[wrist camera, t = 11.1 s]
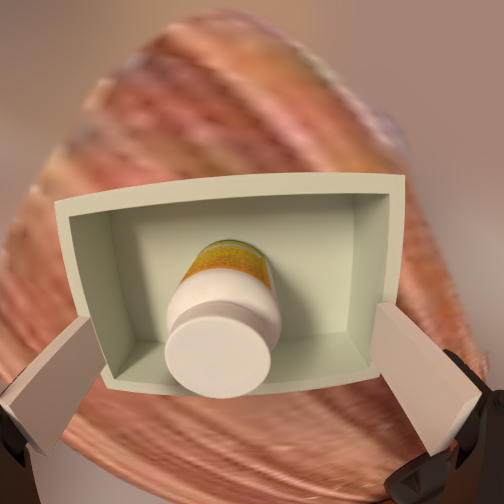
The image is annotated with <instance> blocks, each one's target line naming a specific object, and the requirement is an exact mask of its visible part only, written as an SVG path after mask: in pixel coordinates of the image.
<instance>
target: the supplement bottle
mask: <svg viewBox="0 0 504 504" xmlns="http://www.w3.org/2000/svg"><path fill="white" fill-rule="evenodd" d="M166 322H167V329H168V333H169V336H168V339H167V341H166V345H165V360H166V364H167V366H168V369H169V371H170V372H171V374H172V375H173V377H174V378H175V379H176V380H177V381H178V382H179V383H180V384H181V385H183V386H184V387H185V388H187V389H189V390H190V391H192V392H195V393H197V394H199V395H202V396H206V397H210V398H218V399H221V398H234V397H238V396H242V395H245V394H247V393H249V392H251V391H253V390H254V389H256V388H257V387H258V386H259V385H260V384H261V383H263V381H264V380H265V379H266V377H267V375H268V373H269V370H270V367H271V352H272V351H273V349H274V348H275V346H276V344H277V342H278V340H279V337H280V334H281V328H282V317H281V311H280V307H279V302H278V298H277V294H276V290H275V286H274V282H273V277H272V272H271V269H270V266H269V263H268V261H267V259H266V258H265V256H264V255H263V254H262V253H261V251H260V250H258V249H257V248H256V247H255V246H253V245H251V244H249V243H247V242H245V241H242V240H238V239H222V240H218V241H215V242H213V243H211V244H209V245H208V246H206V247H205V248H204V249H203V250H202V251H201V252H200V253H199V254H198V256H197V257H196V258H195V260H194V261H193V263H192V265H191V266H190V268H189V269H188V271H187V272H186V274H185V276H184V277H183V279H182V280H181V282H180V283H179V285H178V287H177V288H176V290H175V291H174V293H173V295H172V297H171V299H170V301H169V304H168V308H167V314H166Z"/></svg>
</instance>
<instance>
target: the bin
mask: <svg viewBox="0 0 504 504" xmlns="http://www.w3.org/2000/svg"><path fill="white" fill-rule="evenodd" d="M54 204H55V212H56V220H57V227H58V233H59V239H60V244H61V250H62V255H63V259H64V264H65V268H66V273H67V277H68V281H69V285H70V289H71V292H72V296H73V299H74V303H75V306H76V309H77V313H78V316H81V317H91V320H92V323H93V327H94V330H95V333H96V336H97V339H98V342H99V344H100V347H101V350H102V353H103V355H104V358H105V361H106V363H107V364H106V365H105V367H104V368H103V370H102V371H101V373H100V374H101V376H102V378H103V380H104V383H105V385H106V387H107V388H109V389H115V390H123V391H131V392H139V393H150V394H162V395H178V396H202V395H199V394H197V393H195V392H192V391H190V390H189V389H187V388H185V387H184V386H183V385H181V384H180V383H179V382H178V381H177V380H176V379H175V378H174V377H173V375H172V374H171V372H170V371H169V369H168V366H167V364H166V360H165V345H166V341H167V339H168V336H169V333H168V329H167V322H166V314H167V308H168V304H169V301H170V299H171V297H172V295H173V293H174V291H175V290H176V288H177V287H178V285H179V283H180V282H181V280H182V279H183V277H184V276H185V274H186V272H187V271H188V269H189V268H190V266H191V265H192V263H193V261H194V260H195V258H196V257H197V256H198V254H199V253H200V252H201V251H202V250H203V249H204V248H205V247H206V246H208V245H209V244H211V243H213V242H215V241H218V240H222V239H238V240H242V241H245V242H247V243H249V244H251V245H253V246H255V247H256V248H257V249H258V250H260V251H261V253H262V254H263V255H264V256H265V258H266V259H267V261H268V263H269V266H270V269H271V272H272V277H273V282H274V286H275V290H276V294H277V298H278V302H279V307H280V311H281V317H282V328H281V334H280V337H279V340H278V342H277V344H276V346H275V348H274V349H273V351H272V352H271V367H270V370H269V373H268V375H267V377H266V379H265V380H264V381H263V383H261V384H260V385H259V386H258V387H257V388H256V389H254V390H253V391H251V392H249V393H247V394H245V395H242V396H248V395H264V394H277V393H287V392H297V391H305V390H312V389H319V388H326V387H332V386H338V385H343V384H349V383H354V382H359V381H364V380H368V379H373V378H377V377H379V376H380V371H379V369H378V368H377V366H376V365H375V363H374V362H373V360H372V358H371V357H370V355H369V350H370V344H371V339H372V333H373V327H374V321H375V314H376V307H377V304H379V303H386V302H392V303H393V304H394V305H395V304H396V298H397V291H398V284H399V277H400V268H401V259H402V248H403V235H404V215H405V175H393V174H373V173H333V172H313V173H272V174H251V175H235V176H221V177H209V178H199V179H189V180H179V181H171V182H163V183H155V184H147V185H140V186H134V187H127V188H121V189H115V190H109V191H103V192H98V193H92V194H87V195H82V196H77V197H72V198H67V199H63V200H58V201H54Z"/></svg>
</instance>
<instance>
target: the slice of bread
mask: <svg viewBox="0 0 504 504" xmlns="http://www.w3.org/2000/svg"><path fill="white" fill-rule="evenodd" d="M375 504H398V503H397V502H395V501H394V500H393V499H392V498H390V499H388V500H384V501H381V502H378V503H375Z"/></svg>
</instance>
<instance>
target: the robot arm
mask: <svg viewBox="0 0 504 504" xmlns="http://www.w3.org/2000/svg"><path fill="white" fill-rule="evenodd" d="M369 355H370V357H371V358H372V360H373V362H374V363H375V365H376V366H377V368H378V369H379V371H380V373H381V374H382V376H383V377H384V379H385V381H386V382H387V384H388V385H389V387H390V389H391V390H392V392H393V393H394V395H395V397H396V398H397V400H398V402H399V403H400V405H401V407H402V408H403V410H404V412H405V413H406V415H407V417H408V418H409V420H410V422H411V423H412V425H413V427H414V429H415V430H416V432H417V434H418V435H419V437H420V439H421V441H422V442H423V444H424V446H425V448H426V450H427V451H428V452H427V453H425V454H423V455H422V456H420V457H418V458H416V459H415V460H413V461H411V462H410V463H408V464H407V465H405V466H403V467H402V468H401V469H399V470H398V471H396V472H395V473H394V474H392V475H391V476H390V477H389V478H388V479H387V480H386V481H385V483H384V487H385V490H386V492H387V494H388V495H389V496H390V497H391V498H392V499H393V500H394V501H395V502H397V503H398V504H504V390H495V391H491V390H490V388H489V387H488V386H487V385H486V384H485V383H484V382H483V381H482V380H481V379H480V378H479V377H478V376H477V375H476V374H475V373H474V372H473V371H472V370H470V368H469V367H468V366H467V365H466V364H464V362H463V361H462V360H461V359H460V358H459V357H458V356H457V355H456V354H454V353H453V352H451V351H449V350H447V349H444V350H441V349H440V348H439V347H438V346H437V345H436V344H435V343H434V342H433V341H432V340H431V339H430V338H429V337H428V336H427V335H426V334H425V333H424V332H423V331H422V330H421V329H420V328H419V327H418V326H417V325H416V324H415V323H413V322H412V321H411V320H410V319H409V318H408V317H407V316H406V315H405V314H404V313H403V312H402V311H401V310H400V309H399V308H398V307H396V306H395V305H394V304H393V303H392V302H386V303H379V304H377V307H376V314H375V321H374V327H373V333H372V339H371V344H370V350H369ZM106 364H107V363H106V361H105V358H104V355H103V353H102V350H101V347H100V344H99V342H98V339H97V336H96V333H95V330H94V327H93V323H92V320H91V317H81V316H79V317H78V318H76V319H75V320H74V321H73V322H72V323H71V324H70V325H69V326H68V327H67V328H66V329H65V330H64V331H63V332H62V333H61V334H60V335H59V336H58V337H56V338H55V339H54V340H53V341H52V342H51V343H50V344H49V345H48V346H47V347H46V348H45V349H44V350H43V351H42V352H41V353H40V354H39V355H38V356H37V357H36V358H35V359H34V361H33V362H32V363H31V364H30V365H29V366H28V367H26V368H25V369H24V370H23V371H22V372H21V373H20V374H19V375H18V377H16V378H15V379H14V380H13V381H12V382H13V383H11V384H10V385H9V386H8V387H7V388H6V389H5V390H4V391H3V392H2V394H1V395H0V504H41V503H40V499H39V496H38V492H37V488H36V484H35V480H34V475H33V471H32V465H31V461H30V454H29V451H28V449H27V447H26V446H25V445H26V443H27V442H28V443H29V444H30V445H31V446H32V447H33V449H34V450H35V451H36V452H38V453H40V454H42V455H44V456H46V457H49V456H50V454H51V452H52V451H53V449H54V447H55V446H56V444H57V442H58V440H59V439H60V437H61V435H62V433H63V432H64V430H65V428H66V427H67V425H68V423H69V422H70V420H71V418H72V417H73V415H74V414H75V412H76V410H77V409H78V407H79V405H80V404H81V402H82V401H83V399H84V398H85V396H86V394H87V393H88V391H89V390H90V388H91V387H92V385H93V384H94V382H95V381H96V379H97V377H98V376H99V374H100V373H101V371H102V370H103V368H104V367H105V365H106ZM454 438H455V439H456V441H457V442H458V444H457V446H456V447H455V448H454V450H453V451H452V452H451V451H450V450H449V448H448V447H449V445H450V444H451V443H452V441H453V440H454ZM452 456H453V458H452Z"/></svg>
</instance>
